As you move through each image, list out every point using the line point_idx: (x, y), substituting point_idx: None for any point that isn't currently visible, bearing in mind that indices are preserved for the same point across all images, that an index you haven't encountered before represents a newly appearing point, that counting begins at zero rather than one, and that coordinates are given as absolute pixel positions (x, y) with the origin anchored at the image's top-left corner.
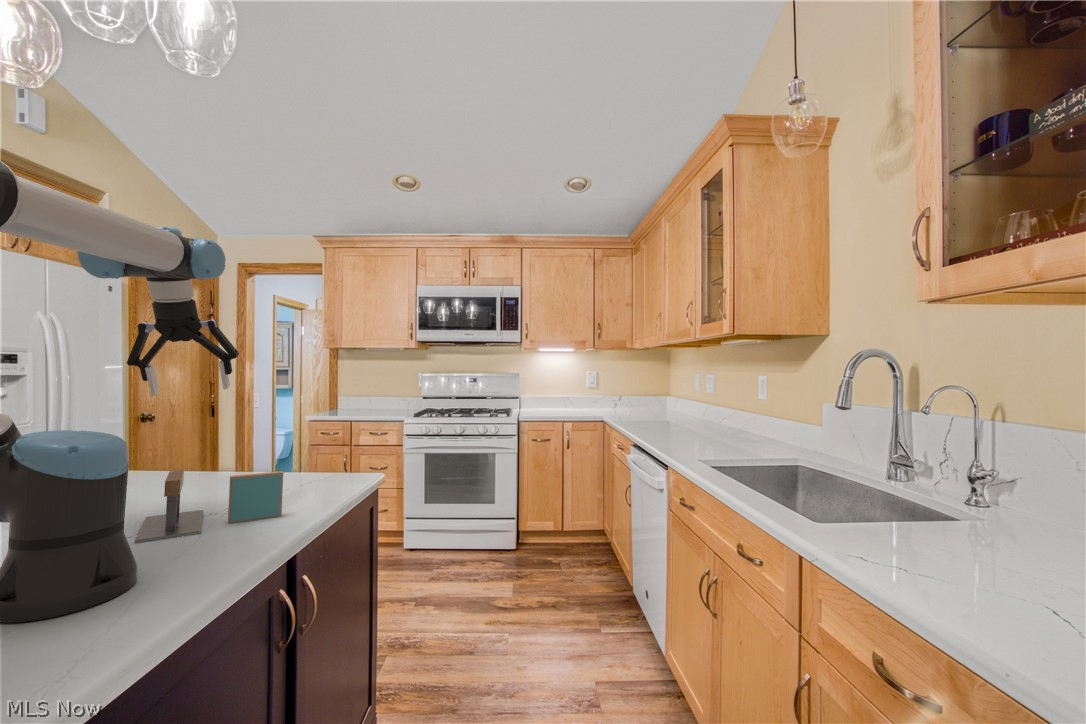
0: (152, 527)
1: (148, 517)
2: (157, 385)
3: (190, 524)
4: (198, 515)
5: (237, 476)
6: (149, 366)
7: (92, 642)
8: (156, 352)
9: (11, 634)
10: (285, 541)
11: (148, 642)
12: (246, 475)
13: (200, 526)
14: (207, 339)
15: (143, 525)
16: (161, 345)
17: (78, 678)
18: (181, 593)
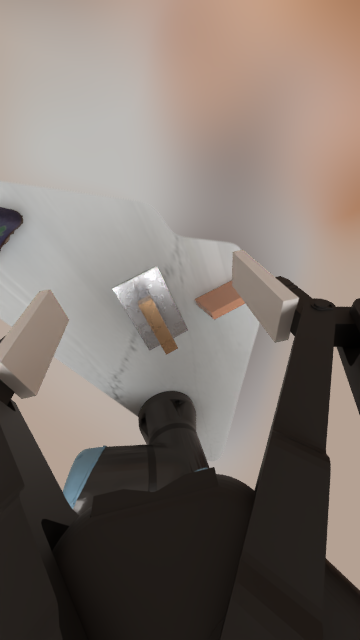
0: (142, 321)
1: (116, 291)
2: (47, 311)
3: (170, 314)
4: (163, 287)
5: (220, 315)
6: (14, 383)
7: (207, 441)
8: (35, 451)
9: None
10: (251, 344)
11: (226, 439)
12: (227, 310)
13: (182, 320)
14: (320, 438)
15: (130, 315)
16: (67, 502)
17: (216, 455)
18: (220, 408)
